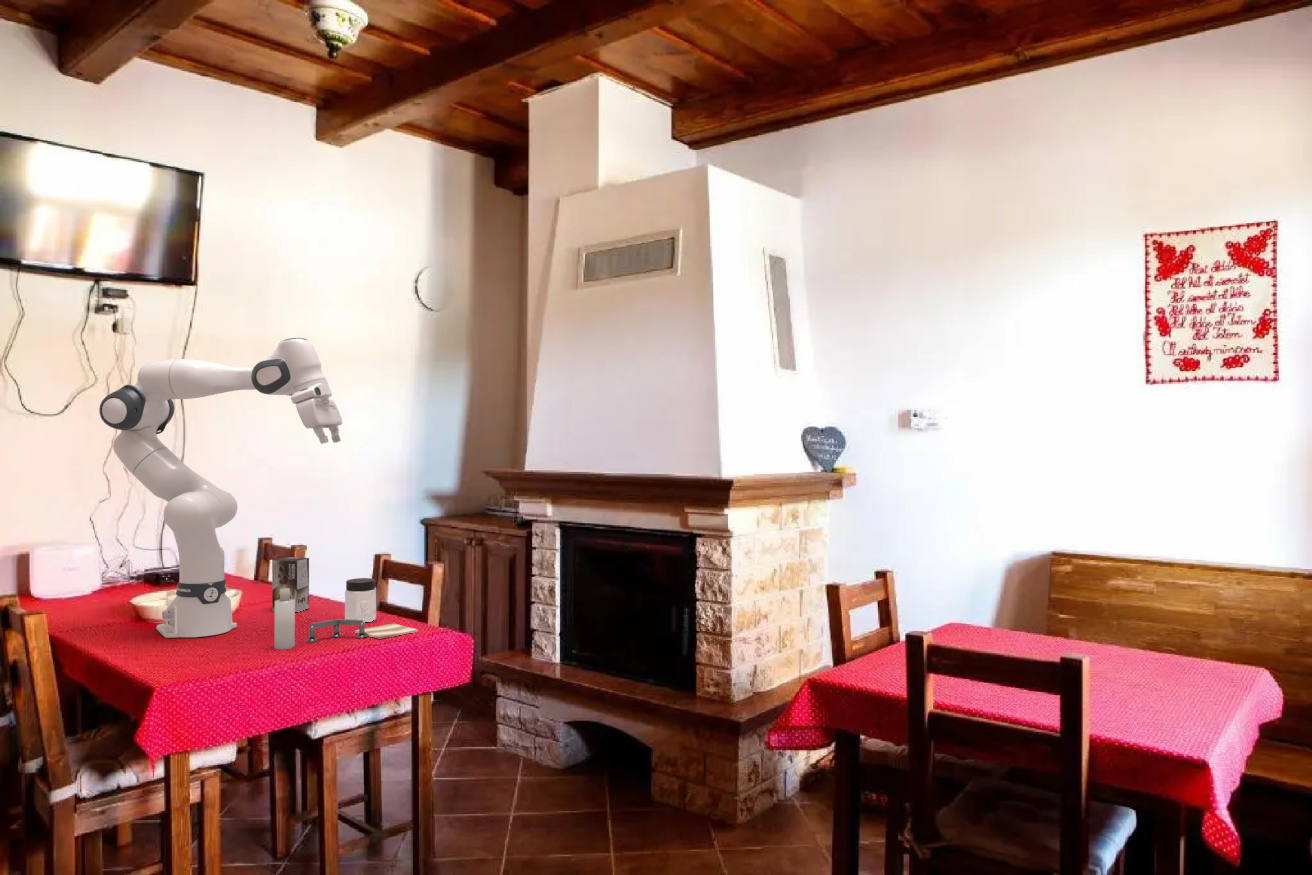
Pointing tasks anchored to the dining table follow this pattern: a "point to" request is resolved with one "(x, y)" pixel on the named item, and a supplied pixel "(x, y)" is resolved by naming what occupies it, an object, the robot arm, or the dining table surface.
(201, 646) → the dining table surface
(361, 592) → the jar
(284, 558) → the coffee box
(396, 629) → the birch board
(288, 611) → the stoneware bottle
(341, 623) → the grey angled rail stand
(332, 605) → the dining table surface
